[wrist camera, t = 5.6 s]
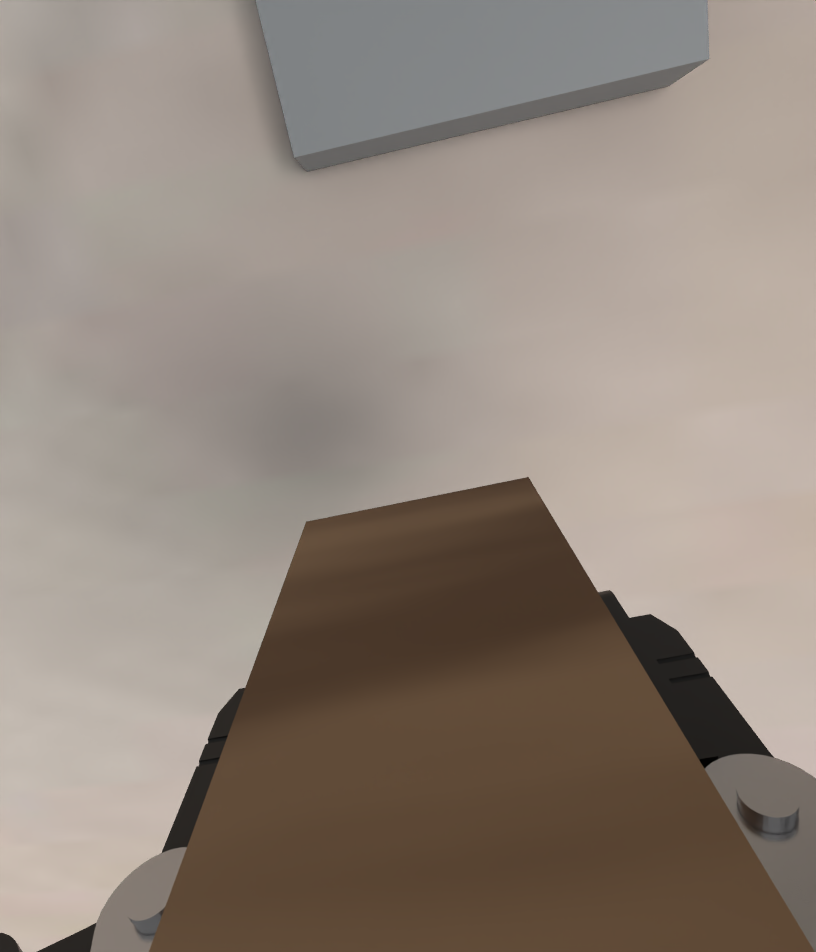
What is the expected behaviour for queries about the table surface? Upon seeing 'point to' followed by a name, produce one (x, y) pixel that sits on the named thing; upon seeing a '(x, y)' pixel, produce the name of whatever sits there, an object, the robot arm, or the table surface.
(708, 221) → the table surface
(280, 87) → the grey board
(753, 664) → the table surface
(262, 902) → the walnut block
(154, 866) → the robot arm
